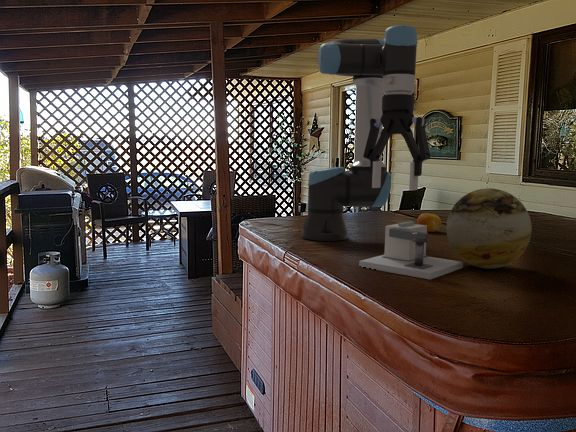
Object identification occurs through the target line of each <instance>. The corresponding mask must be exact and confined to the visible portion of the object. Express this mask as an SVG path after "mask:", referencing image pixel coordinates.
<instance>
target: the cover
mask: <svg viewBox="0 0 576 432" xmlns="http://www.w3.org/2000/svg"><path fill="white" fill-rule="evenodd" d="M384 228H385V230H384V231H385V233H384V235H385V236H384V253H383V255H384V257H390V258H396V259H402V260H408V261H409V260H413V259H415V242H413V241H411V240H405V239H400V238H395V237H389V229H390V228H398V229H404V230H410V231H416V232H426V233H428V232H427V225H418V224H417V223H415V221H411V220H410V221H405V222H400V223H399V222H398V223H395V224H388V225H385V227H384ZM423 256H427V242H425V243H424V255H423Z"/></svg>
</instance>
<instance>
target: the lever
mask: <svg viewBox="0 0 576 432" xmlns="http://www.w3.org/2000/svg"><path fill="white" fill-rule="evenodd" d="M389 237H395V238H400V239H405V240H411V241H413V242H415V262H414V264H415V265H423V255H424V243H425V242H426V243H428V242H429V232H427V233H426V232H416V231H410V230H404V229H398V228H390V229H389Z"/></svg>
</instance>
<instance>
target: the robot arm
mask: <svg viewBox="0 0 576 432" xmlns="http://www.w3.org/2000/svg"><path fill="white" fill-rule="evenodd" d="M417 48H418V32H417V29H416V27H414V26H411V25H393V26H389V27H387V28H386V29H385V32H384V39H378V38H339V39H334V40H330V41H328V42H325V43H323V44H321V45H320V46H319V49H318V51H317V53H316V54H317V55H316V60H317V65H318V67H319V68H318V69H319V72H320V74H324V75H333V76H334V75H335V76H339V77H352V83H353V84H354V86H355V87H356V90H357V91H356V120H355V121H356V123H355V124H356V126H355V159H354V160H355V161H353V163H351V164H350V171H348V170H347V171H345V168H344V167H343V166H337V167H335V166H334V167H325V168H319V169H313V170H312V171H310V172H309V174H308V183H307V187H308V193H307V213H306V214H307V215H306V218H305V221H304V224H303V228H302V229H301V238H302V239H305V240H309V241H310V240H311V241H316V242H317V241H320V242H321V241H322V242H335V241H336V242H337V241H344V240H347V239H348V230H347V226H346V222H345V218H344V215H343V213H344V207H348V208H349V207H351V208H382V207H383V206H385V205H386V204H387V202H388V199H389V198H390V197H389V196H390V192H391V186H392V174H391V172H390V171H387V165H386V164H385V163H384V162H383V161H382V157H383V152H384V149H385V148H386V146H387V144H388V141H389V140H390V138H392V136H393V135H401V136H402V138H403V139H404V141H405V143H406V145H407V148H408V150H409V153H410V155H411V157H412V162H410V165H409V167H410V168H409V186H408V187H409V189H408V190H409V191H418V190H419V189H418V187H419V177H421V176H422V173H423V171H422V169H423V162H425V161H427V160H430V159H431V153H430V152H431V151H430V146H429V141H428V137H427V130H426V122H427V119H426V117H424V116H423V117H422V116H417V117H415V116H414V111H415V110H414V109H415V96H414V95H413V94H414V93H415V92H416V69H417V67H416V64H417V51H418V50H417ZM412 125H414V126H415V133H416V138H417V139H415V137H414V132H413V131H412V128H411V126H412ZM416 140H417V142H416Z"/></svg>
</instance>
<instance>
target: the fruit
mask: <svg viewBox="0 0 576 432" xmlns="http://www.w3.org/2000/svg"><path fill="white" fill-rule="evenodd" d="M416 224H418V225H427V233H434V232H437V231H439V230H440V228H441V226H442V220H441V218H440V216H438V215H437V214H435V213H429V212H423V213H421V214H420V215H419V216H418V218H417V219H416Z"/></svg>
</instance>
